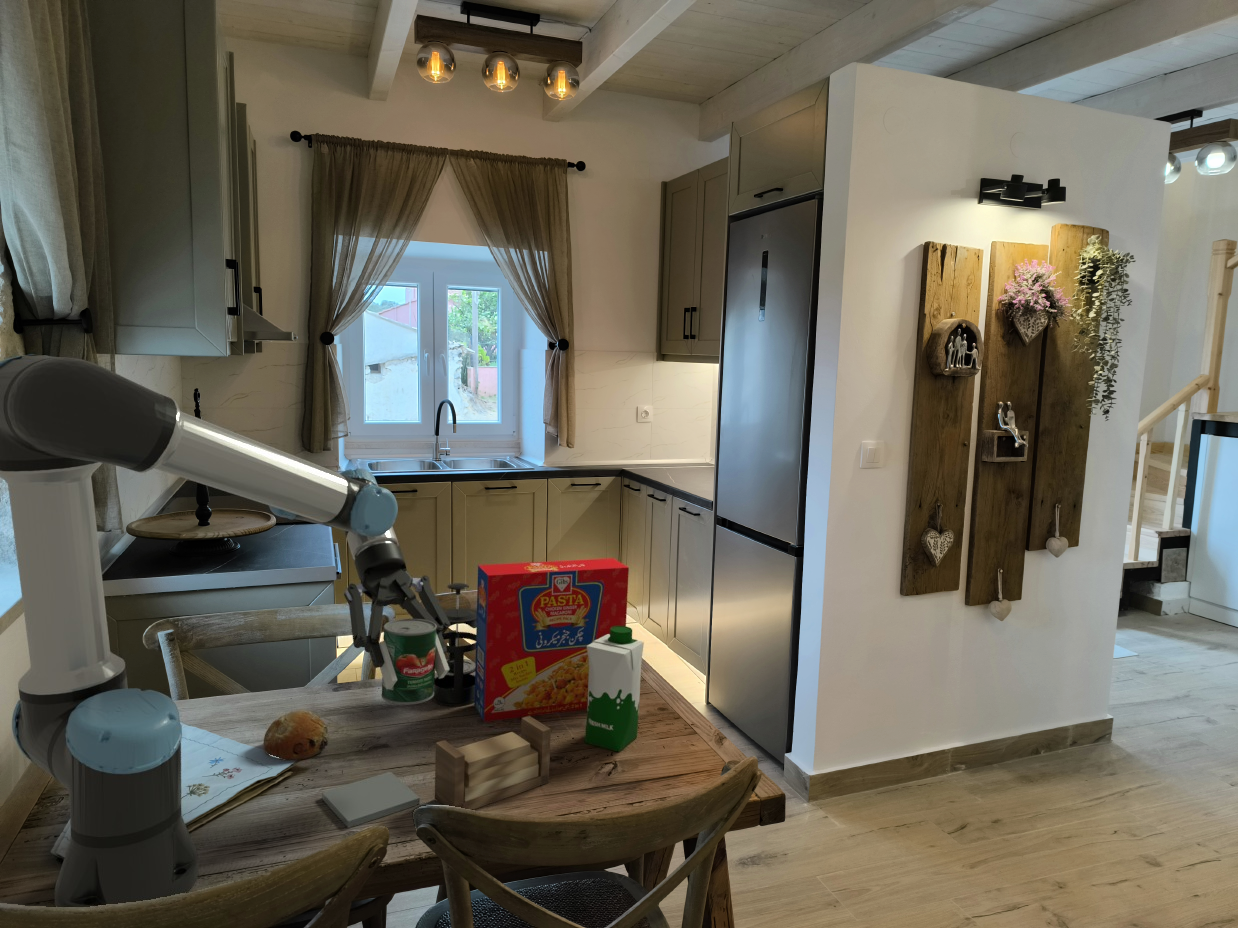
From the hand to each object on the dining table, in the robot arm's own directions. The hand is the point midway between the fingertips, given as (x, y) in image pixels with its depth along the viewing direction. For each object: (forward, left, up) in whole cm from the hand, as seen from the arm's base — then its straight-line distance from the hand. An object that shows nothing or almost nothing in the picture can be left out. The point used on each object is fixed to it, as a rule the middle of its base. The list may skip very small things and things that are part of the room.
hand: (418, 679), depth 124 cm
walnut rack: (+10, -6, -19) cm, 22 cm away
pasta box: (+37, +16, -19) cm, 44 cm away
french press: (+24, +30, -19) cm, 43 cm away
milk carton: (+37, -3, -19) cm, 41 cm away
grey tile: (-6, +2, -19) cm, 20 cm away
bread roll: (-9, +26, -19) cm, 33 cm away
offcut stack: (+10, -5, -17) cm, 21 cm away
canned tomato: (0, +3, -4) cm, 5 cm away
